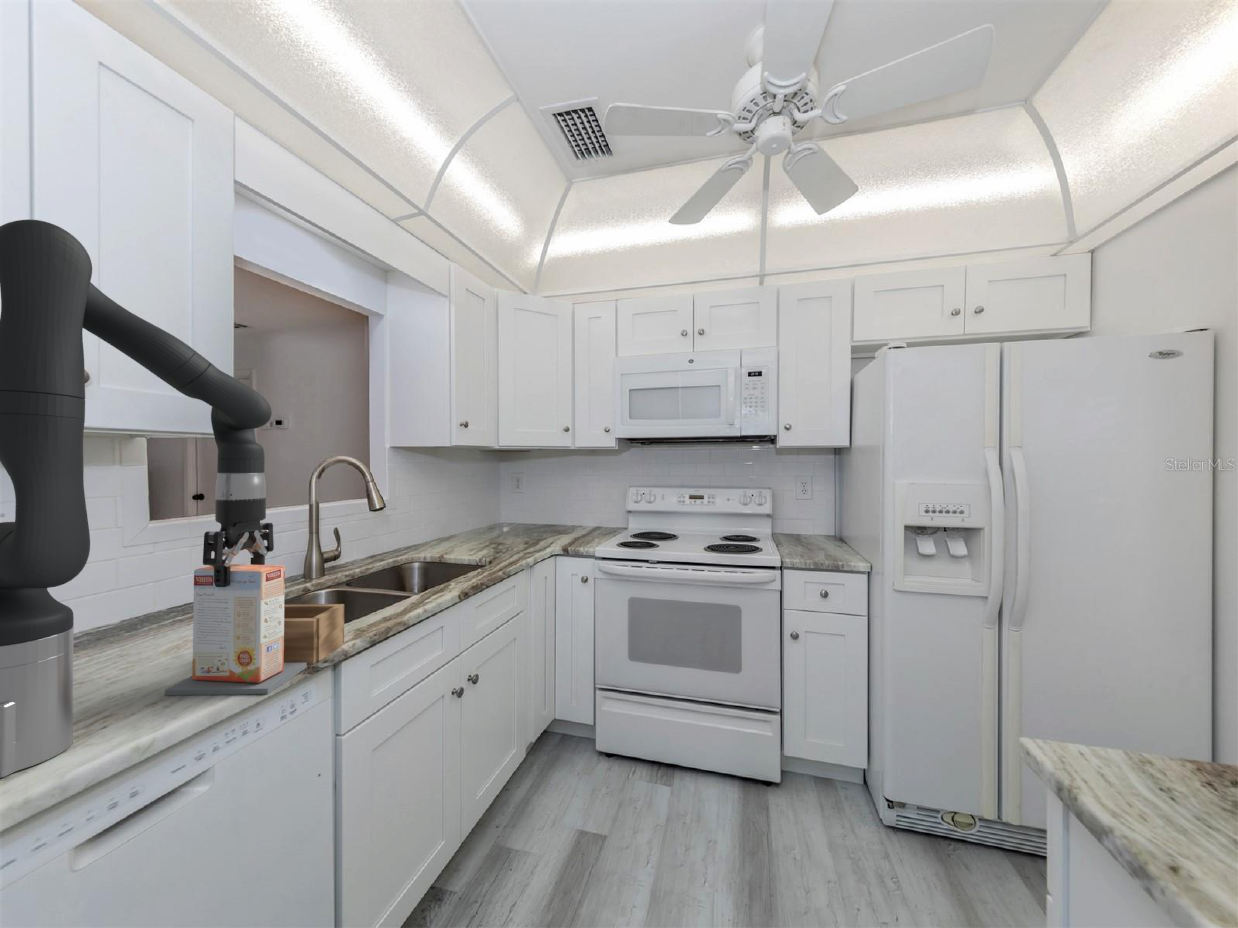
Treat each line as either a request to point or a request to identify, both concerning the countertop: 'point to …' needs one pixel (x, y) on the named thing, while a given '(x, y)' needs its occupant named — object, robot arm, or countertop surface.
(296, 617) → the crate
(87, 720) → the countertop surface
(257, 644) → the cracker box
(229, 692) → the pad
